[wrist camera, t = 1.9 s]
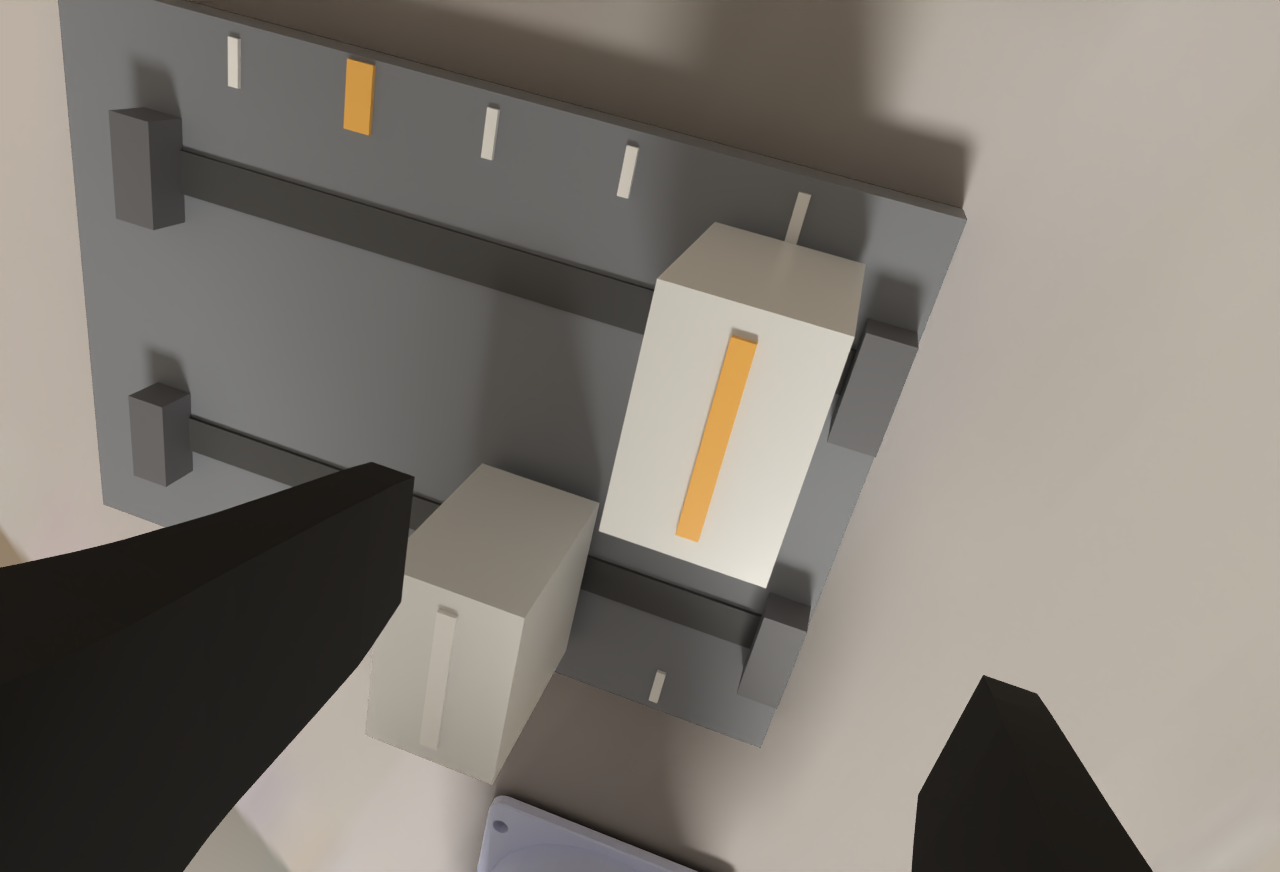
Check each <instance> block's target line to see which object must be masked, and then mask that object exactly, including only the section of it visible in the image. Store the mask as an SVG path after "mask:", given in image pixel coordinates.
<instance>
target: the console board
mask: <svg viewBox="0 0 1280 872" xmlns="http://www.w3.org/2000/svg"><path fill="white" fill-rule="evenodd" d="M58 5H59V16H60V27H61V38H62V49H63V61H64V72H65V83H66V94H67V105H68V116H69V127H70V138H71V149H72V161H73V172H74V183H75V194H76V205H77V216H78V227H79V238H80V249H81V261H82V272H83V283H84V294H85V305H86V316H87V327H88V338H89V349H90V361H91V372H92V383H93V394H94V405H95V416H96V427H97V438H98V450H99V461H100V472H101V483H102V494H103V504H104V505H107V506H110V507H112V508H115V509H118V510H120V511H123V512H126V513H128V514H131V515H134V516H136V517H139V518H142V519H145V520H147V521H150V522H153V523H155V524H158V525H161V526H163V527H169V526H172V525H176V524H179V523H183V522H186V521H189V520H193V519H196V518H200V517H203V516H207V515H210V514H213V513H216V512H220V511H223V510H226V509H229V508H232V507H235V506H238V505H241V504H244V503H247V502H250V501H253V500H256V499H259V498H262V497H265V496H268V495H271V494H274V493H277V492H280V491H282V490H285V489H288V488H291V487H294V486H297V485H300V484H303V483H306V482H309V481H312V480H315V479H317V478H320V477H323V476H326V475H329V474H332V473H335V472H338V471H342V470H345V469H348V468H351V467H354V466H358V465H362V464H365V463H369V462H374V463H377V464H380V465H383V466H386V467H388V468H391V469H394V470H397V471H400V472H403V473H406V474H409V475H411V476H414V477H415V480H414V489H413V498H412V507H411V517H410V526H409V535H408V538H409V537H410V536H411V535H412V534H413V533H414V532H415V531H416V530H417V529H418V528H419V527H420V526H421V525H422V524H423V523H424V522H425V521H426V519H427V518H428V517H429V516H430V515H431V514H432V513H433V512H434V511H435V510H436V509H437V508H438V507H439V506H440V505H441V504H442V503H443V502H444V501H445V500H446V499H447V498H448V497H449V496H450V495H451V494H452V493H453V492H454V491H455V490H456V489H457V488H458V487H459V486H460V485H461V484H462V483H463V482H464V481H465V480H466V479H467V478H468V477H469V476H470V475H471V474H472V473H473V472H474V471H475V470H476V469H477V468H478V467H479V466H480V465H481V464H482V463H483V464H486V465H489V466H492V467H495V468H498V469H501V470H503V471H506V472H509V473H512V474H515V475H518V476H521V477H524V478H527V479H530V480H533V481H536V482H539V483H542V484H545V485H548V486H551V487H554V488H557V489H560V490H563V491H566V492H569V493H572V494H574V495H577V496H580V497H583V498H586V499H589V500H592V501H595V502H598V503H599V508H598V512H597V517H596V521H595V525H594V530H593V534H592V539H591V543H590V547H589V552H588V556H587V561H586V565H585V569H584V574H583V578H582V583H581V587H580V591H579V596H578V600H577V605H576V609H575V613H574V618H573V622H572V626H571V631H570V635H569V640H568V644H567V648H566V652H565V653H564V655H563V657H562V659H561V661H560V663H559V664H558V666H557V668H556V670H555V672H557V673H560V674H562V675H565V676H568V677H570V678H573V679H576V680H578V681H581V682H584V683H587V684H589V685H592V686H595V687H597V688H600V689H603V690H605V691H608V692H611V693H613V694H616V695H619V696H622V697H624V698H627V699H630V700H632V701H635V702H638V703H640V704H643V705H646V706H649V707H651V708H654V709H657V710H659V711H662V712H665V713H667V714H670V715H673V716H675V717H678V718H681V719H684V720H686V721H689V722H692V723H694V724H697V725H700V726H702V727H705V728H708V729H711V730H713V731H716V732H719V733H721V734H724V735H727V736H729V737H732V738H735V739H737V740H740V741H743V742H746V743H748V744H751V745H754V746H756V747H759V748H761V745H762V742H763V740H764V737H765V735H766V732H767V730H768V727H769V725H770V722H771V719H772V717H773V714H774V712H775V709H777V707H778V705H779V702H780V700H781V697H782V695H783V692H784V689H785V687H786V684H787V682H788V679H789V677H790V674H791V672H792V669H793V667H794V664H795V661H796V659H797V656H798V654H799V651H800V649H801V646H802V644H803V641H804V639H805V636H806V633H807V629H808V625H809V622H810V620H811V617H812V615H813V612H814V610H815V607H816V605H817V602H818V599H819V597H820V594H821V592H822V589H823V587H824V584H825V582H826V579H827V576H828V574H829V571H830V569H831V566H832V564H833V561H834V559H835V556H836V553H837V551H838V548H839V546H840V543H841V541H842V538H843V536H844V533H845V530H846V528H847V525H848V523H849V520H850V518H851V515H852V513H853V510H854V508H855V505H856V502H857V500H858V497H859V495H860V492H861V490H862V487H863V485H864V482H865V479H866V477H867V474H868V472H869V469H870V467H871V464H872V462H873V459H874V457H876V455H877V453H878V450H879V447H880V445H881V442H882V440H883V437H884V435H885V432H886V430H887V427H888V425H889V422H890V419H891V417H892V414H893V412H894V409H895V407H896V404H897V402H898V399H899V396H900V394H901V391H902V389H903V386H904V384H905V381H906V379H907V376H908V374H909V371H910V368H911V366H912V363H913V361H914V358H915V356H916V353H917V351H918V344H919V342H920V339H921V336H922V334H923V331H924V329H925V326H926V324H927V321H928V319H929V316H930V313H931V311H932V308H933V306H934V303H935V301H936V298H937V296H938V293H939V290H940V288H941V285H942V283H943V280H944V278H945V275H946V273H947V270H948V267H949V265H950V262H951V260H952V257H953V255H954V252H955V250H956V247H957V244H958V242H959V239H960V237H961V234H962V232H963V229H964V227H965V224H966V221H967V218H966V216H965V213H964V210H963V209H961V208H958V207H954V206H950V205H946V204H943V203H939V202H935V201H932V200H928V199H924V198H920V197H917V196H913V195H909V194H905V193H902V192H898V191H894V190H891V189H887V188H883V187H879V186H876V185H872V184H868V183H864V182H861V181H857V180H853V179H850V178H846V177H842V176H838V175H835V174H831V173H827V172H823V171H820V170H816V169H812V168H809V167H805V166H801V165H797V164H794V163H790V162H786V161H782V160H779V159H775V158H771V157H768V156H764V155H760V154H756V153H753V152H749V151H745V150H741V149H738V148H734V147H730V146H727V145H723V144H719V143H715V142H712V141H708V140H704V139H700V138H697V137H693V136H689V135H686V134H682V133H678V132H674V131H671V130H667V129H663V128H659V127H656V126H652V125H648V124H645V123H641V122H637V121H633V120H630V119H626V118H622V117H618V116H615V115H611V114H607V113H604V112H600V111H596V110H592V109H589V108H585V107H581V106H577V105H574V104H570V103H566V102H563V101H559V100H555V99H551V98H548V97H544V96H540V95H536V94H533V93H529V92H525V91H522V90H518V89H514V88H510V87H507V86H503V85H499V84H495V83H492V82H488V81H484V80H481V79H477V78H473V77H469V76H466V75H462V74H458V73H454V72H451V71H447V70H443V69H440V68H436V67H432V66H428V65H425V64H421V63H417V62H413V61H410V60H406V59H402V58H399V57H395V56H391V55H387V54H384V53H380V52H376V51H372V50H369V49H365V48H361V47H358V46H354V45H350V44H346V43H343V42H339V41H335V40H331V39H328V38H324V37H320V36H317V35H313V34H309V33H305V32H302V31H298V30H294V29H290V28H287V27H283V26H279V25H276V24H272V23H268V22H264V21H261V20H257V19H253V18H249V17H246V16H242V15H238V14H235V13H231V12H227V11H223V10H220V9H216V8H212V7H208V6H205V5H201V4H197V3H194V2H190V1H186V0H58ZM714 222H718V223H721V224H725V225H728V226H732V227H735V228H739V229H742V230H746V231H749V232H753V233H757V234H760V235H764V236H767V237H771V238H774V239H778V240H781V241H785V242H788V243H792V244H796V245H799V246H803V247H806V248H810V249H813V250H817V251H820V252H824V253H827V254H831V255H835V256H838V257H842V258H845V259H849V260H852V261H856V262H859V263H863V264H866V266H865V273H864V279H863V286H862V292H861V299H860V305H859V312H858V319H857V325H856V332H855V338H854V340H853V343H852V346H851V349H850V352H849V355H848V357H847V360H846V363H845V366H844V369H843V372H842V374H841V377H840V380H839V383H838V386H837V389H836V391H835V394H834V397H833V400H832V403H831V406H830V408H829V411H828V414H827V417H826V420H825V423H824V425H823V428H822V431H821V434H820V437H819V440H818V442H817V445H816V448H815V451H814V454H813V456H812V459H811V462H810V465H809V468H808V471H807V473H806V476H805V479H804V482H803V485H802V488H801V490H800V493H799V496H798V499H797V502H796V505H795V507H794V510H793V513H792V516H791V519H790V522H789V524H788V527H787V530H786V533H785V536H784V539H783V541H782V544H781V547H780V550H779V553H778V556H777V558H776V561H775V564H774V567H773V570H772V573H771V575H770V578H769V581H768V584H767V587H766V588H763V587H761V586H758V585H755V584H752V583H749V582H746V581H743V580H740V579H737V578H734V577H731V576H728V575H726V574H723V573H720V572H717V571H714V570H711V569H708V568H705V567H702V566H699V565H696V564H693V563H691V562H688V561H685V560H682V559H679V558H676V557H673V556H670V555H667V554H664V553H661V552H659V551H656V550H653V549H650V548H647V547H644V546H641V545H638V544H635V543H632V542H629V541H626V540H624V539H621V538H618V537H615V536H612V535H609V534H606V533H603V532H600V531H599V528H600V523H601V519H602V515H603V510H604V506H605V502H606V497H607V493H608V489H609V484H610V480H611V476H612V471H613V467H614V463H615V458H616V454H617V450H618V445H619V441H620V437H621V432H622V428H623V424H624V419H625V415H626V411H627V406H628V402H629V398H630V393H631V389H632V385H633V380H634V376H635V372H636V367H637V363H638V359H639V354H640V350H641V346H642V341H643V337H644V333H645V328H646V324H647V320H648V315H649V311H650V307H651V302H652V298H653V294H654V290H655V285H656V281H657V278H658V277H659V276H660V275H661V274H662V273H663V272H664V271H665V270H666V269H667V268H668V267H669V266H670V265H671V264H672V263H673V262H675V261H676V260H677V259H678V258H679V257H680V256H681V255H682V254H683V253H684V252H685V251H686V250H687V249H688V248H689V247H690V246H691V245H692V244H693V243H694V242H695V241H696V240H697V239H698V238H699V237H700V236H701V235H702V234H703V233H704V232H705V231H706V230H707V229H708V228H709V227H710V226H711V225H712V224H713V223H714Z"/></svg>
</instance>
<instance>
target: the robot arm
mask: <svg viewBox="0 0 1280 872" xmlns="http://www.w3.org/2000/svg"><path fill="white" fill-rule="evenodd" d="M414 480H415V477H414V476H411V475H409V474H406V473H403V472H400V471H397V470H394V469H391V468H388V467H386V466H383V465H380V464H377V463H374V462H369V463H365V464H362V465H358V466H354V467H351V468H348V469H345V470H342V471H338V472H335V473H332V474H329V475H326V476H323V477H320V478H317V479H315V480H312V481H309V482H306V483H303V484H300V485H297V486H294V487H291V488H288V489H285V490H282V491H280V492H277V493H274V494H271V495H268V496H265V497H262V498H259V499H256V500H253V501H250V502H247V503H244V504H241V505H238V506H235V507H232V508H229V509H226V510H223V511H220V512H216V513H213V514H210V515H207V516H203V517H200V518H196V519H193V520H189V521H186V522H183V523H179V524H176V525H172V526H169V527H166V528H162V529H159V530H155V531H152V532H149V533H145V534H142V535H138V536H135V537H131V538H128V539H125V540H121V541H117V542H113V543H109V544H105V545H101V546H97V547H93V548H89V549H85V550H81V551H76V552H72V553H68V554H63V555H58V556H54V557H49V558H44V559H40V560H35V561H30V562H26V563H21V564H17V565H12V566H6V567H1V568H0V872H183V871H184V870H185V868H186V867H187V865H188V864H189V863H190V861H191V860H192V859H193V857H194V856H195V855H196V853H197V852H198V850H199V849H200V848H201V846H202V845H203V844H204V842H205V841H206V840H207V838H208V837H209V836H210V834H211V833H212V832H213V831H214V830H215V828H216V827H217V826H218V825H219V824H220V822H221V821H222V820H223V819H224V818H225V816H226V815H227V814H228V812H229V811H230V810H231V809H232V808H233V807H234V805H235V804H236V803H237V802H238V801H239V800H240V799H241V797H242V796H243V795H244V794H245V793H246V792H247V791H248V790H249V788H250V787H251V786H252V785H253V784H254V783H255V782H256V781H257V779H258V778H259V777H260V776H261V775H262V774H263V773H264V772H265V771H266V769H267V768H268V767H269V766H270V765H271V764H272V763H273V762H274V760H275V759H276V758H277V757H278V756H279V755H280V754H281V753H282V752H283V750H284V749H285V748H286V747H287V746H288V745H289V744H290V743H291V741H292V740H293V739H294V738H295V737H296V736H297V735H298V734H299V733H300V731H301V730H302V729H303V728H304V727H305V726H306V725H307V724H308V722H309V721H310V720H311V719H312V718H313V717H314V716H315V715H316V713H317V712H318V711H319V710H320V709H321V708H322V707H323V706H324V704H325V703H326V702H327V701H328V700H329V699H330V698H331V696H332V695H333V694H334V693H335V692H336V691H337V690H338V688H339V687H340V686H341V685H342V684H343V683H344V682H345V681H346V679H347V678H348V677H349V676H350V675H351V674H352V672H353V671H354V670H355V669H356V668H357V667H358V665H359V664H360V663H361V661H362V660H363V658H364V657H365V655H366V654H367V653H368V651H369V650H370V648H371V647H372V645H373V644H374V643H375V641H376V640H377V638H378V637H379V635H380V634H381V632H382V631H383V629H384V628H385V626H386V625H387V623H388V622H389V620H390V619H391V617H392V615H393V614H394V612H395V611H396V609H397V608H398V606H399V605H400V603H401V600H402V590H403V581H404V572H405V563H406V553H407V544H408V535H409V526H410V517H411V507H412V498H413V489H414ZM476 872H698V871H695V870H693V869H690V868H688V867H685V866H683V865H680V864H678V863H675V862H673V861H670V860H668V859H665V858H662V857H660V856H657V855H655V854H652V853H650V852H647V851H645V850H642V849H640V848H637V847H635V846H632V845H630V844H627V843H625V842H622V841H620V840H617V839H615V838H612V837H610V836H607V835H605V834H602V833H599V832H597V831H594V830H592V829H589V828H587V827H584V826H582V825H579V824H577V823H574V822H572V821H569V820H567V819H564V818H562V817H559V816H557V815H554V814H552V813H549V812H547V811H544V810H542V809H539V808H536V807H534V806H531V805H529V804H526V803H524V802H521V801H519V800H516V799H514V798H511V797H508V796H497V797H496V798H494V800H493V802H492V804H491V806H490V807H489V810H488V815H487V820H486V825H485V830H484V835H483V841H482V846H481V851H480V856H479V861H478V866H477V871H476ZM912 872H1153V871H1152V869H1151V868H1150V867H1149V865H1148V864H1147V862H1146V861H1145V859H1144V858H1143V856H1142V855H1141V853H1140V852H1139V850H1138V849H1137V847H1136V846H1135V844H1134V843H1133V841H1132V840H1131V838H1130V837H1129V835H1128V834H1127V832H1126V831H1125V829H1124V828H1123V826H1122V825H1121V823H1120V822H1119V820H1118V819H1117V817H1116V815H1115V814H1114V812H1113V811H1112V809H1111V808H1110V806H1109V805H1108V803H1107V802H1106V800H1105V798H1104V797H1103V795H1102V794H1101V792H1100V791H1099V789H1098V787H1097V786H1096V784H1095V783H1094V781H1093V780H1092V778H1091V776H1090V775H1089V773H1088V772H1087V770H1086V769H1085V767H1084V765H1083V764H1082V762H1081V761H1080V759H1079V757H1078V756H1077V754H1076V753H1075V751H1074V750H1073V748H1072V746H1071V745H1070V743H1069V742H1068V740H1067V738H1066V737H1065V735H1064V734H1063V732H1062V731H1061V729H1060V727H1059V726H1058V724H1057V723H1056V721H1055V720H1054V718H1053V717H1052V715H1051V714H1050V712H1049V710H1048V709H1047V707H1046V706H1045V705H1044V703H1043V702H1042V700H1041V699H1040V697H1039V696H1038V694H1036V693H1033V692H1030V691H1028V690H1025V689H1022V688H1019V687H1016V686H1013V685H1010V684H1008V683H1005V682H1002V681H999V680H996V679H993V678H990V677H987V676H985V675H983V676H982V678H981V680H980V682H979V684H978V686H977V688H976V689H975V691H974V693H973V695H972V697H971V699H970V700H969V702H968V704H967V706H966V708H965V710H964V711H963V713H962V715H961V717H960V719H959V721H958V723H957V724H956V726H955V728H954V730H953V732H952V734H951V735H950V737H949V739H948V741H947V743H946V745H945V747H944V748H943V750H942V752H941V754H940V756H939V758H938V759H937V761H936V763H935V765H934V767H933V769H932V770H931V772H930V774H929V776H928V778H927V780H926V782H925V783H924V785H923V787H922V789H921V791H920V793H919V794H918V803H917V813H916V823H915V834H914V845H913V859H912Z"/></svg>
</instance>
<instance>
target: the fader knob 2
mask: <svg viewBox="0 0 1280 872" xmlns="http://www.w3.org/2000/svg"><path fill="white" fill-rule="evenodd" d="M865 266H866V264H863V263H859V262H856V261H852V260H849V259H845V258H842V257H838V256H835V255H831V254H827V253H824V252H820V251H817V250H813V249H810V248H806V247H803V246H799V245H796V244H792V243H788V242H785V241H781V240H778V239H774V238H771V237H767V236H764V235H760V234H757V233H753V232H749V231H746V230H742V229H739V228H735V227H732V226H728V225H725V224H721V223H718V222H714V223H713V224H712V225H711V226H710V227H709V228H708V229H707V230H706V231H705V232H704V233H703V234H702V235H701V236H700V237H699V238H698V239H697V240H696V241H695V242H694V243H693V244H692V245H691V246H690V247H689V248H688V249H687V250H686V251H685V252H684V253H683V254H682V255H681V256H680V257H679V258H678V259H677V260H676V261H675V262H673V263H672V264H671V265H670V266H669V267H668V268H667V269H666V270H665V271H664V272H663V273H662V274H661V275H660V276H659V277H658V278H657V281H656V285H655V290H654V294H653V298H652V302H651V307H650V311H649V315H648V320H647V324H646V328H645V333H644V337H643V341H642V346H641V350H640V354H639V359H638V363H637V367H636V372H635V376H634V380H633V385H632V389H631V393H630V398H629V402H628V406H627V411H626V415H625V419H624V424H623V428H622V432H621V437H620V441H619V445H618V450H617V454H616V458H615V463H614V467H613V471H612V476H611V480H610V484H609V489H608V493H607V497H606V502H605V506H604V510H603V515H602V519H601V523H600V528H599V531H600V532H603V533H606V534H609V535H612V536H615V537H618V538H621V539H624V540H626V541H629V542H632V543H635V544H638V545H641V546H644V547H647V548H650V549H653V550H656V551H659V552H661V553H664V554H667V555H670V556H673V557H676V558H679V559H682V560H685V561H688V562H691V563H693V564H696V565H699V566H702V567H705V568H708V569H711V570H714V571H717V572H720V573H723V574H726V575H728V576H731V577H734V578H737V579H740V580H743V581H746V582H749V583H752V584H755V585H758V586H761V587H763V588H766V587H767V584H768V581H769V578H770V575H771V573H772V570H773V567H774V564H775V561H776V558H777V556H778V553H779V550H780V547H781V544H782V541H783V539H784V536H785V533H786V530H787V527H788V524H789V522H790V519H791V516H792V513H793V510H794V507H795V505H796V502H797V499H798V496H799V493H800V490H801V488H802V485H803V482H804V479H805V476H806V473H807V471H808V468H809V465H810V462H811V459H812V456H813V454H814V451H815V448H816V445H817V442H818V440H819V437H820V434H821V431H822V428H823V425H824V423H825V420H826V417H827V414H828V411H829V408H830V406H831V403H832V400H833V397H834V394H835V391H836V389H837V386H838V383H839V380H840V377H841V374H842V372H843V369H844V366H845V363H846V360H847V357H848V355H849V352H850V349H851V346H852V343H853V340H854V338H855V332H856V325H857V319H858V312H859V305H860V299H861V292H862V286H863V279H864V273H865Z"/></svg>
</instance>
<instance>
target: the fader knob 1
mask: <svg viewBox="0 0 1280 872" xmlns="http://www.w3.org/2000/svg"><path fill="white" fill-rule="evenodd" d="M598 508H599V503H598V502H595V501H592V500H589V499H586V498H583V497H580V496H577V495H574V494H572V493H569V492H566V491H563V490H560V489H557V488H554V487H551V486H548V485H545V484H542V483H539V482H536V481H533V480H530V479H527V478H524V477H521V476H518V475H515V474H512V473H509V472H506V471H503V470H501V469H498V468H495V467H492V466H489V465H486V464H483V463H482V464H481V465H480V466H479V467H478V468H477V469H476V470H475V471H474V472H473V473H472V474H471V475H470V476H469V477H468V478H467V479H466V480H465V481H464V482H463V483H462V484H461V485H460V486H459V487H458V488H457V489H456V490H455V491H454V492H453V493H452V494H451V495H450V496H449V497H448V498H447V499H446V500H445V501H444V502H443V503H442V504H441V505H440V506H439V507H438V508H437V509H436V510H435V511H434V512H433V513H432V514H431V515H430V516H429V517H428V518H427V519H426V521H425V522H424V523H423V524H422V525H421V526H420V527H419V528H418V529H417V530H416V531H415V532H414V533H413V534H412V535H411V536H410V537H409V538H408V544H407V553H406V563H405V572H404V581H403V590H402V600H401V603H400V605H399V606H398V608H397V609H396V611H395V612H394V614H393V615H392V617H391V619H390V620H389V622H388V623H387V625H386V626H385V628H384V629H383V631H382V632H381V634H380V635H379V637H378V638H377V640H376V641H375V643H374V644H373V654H372V665H371V676H370V687H369V698H368V709H367V720H366V731H365V735H367V736H369V737H372V738H374V739H377V740H379V741H382V742H384V743H387V744H389V745H392V746H394V747H397V748H399V749H402V750H405V751H407V752H410V753H412V754H415V755H417V756H420V757H422V758H425V759H427V760H430V761H432V762H435V763H437V764H440V765H442V766H445V767H447V768H450V769H453V770H455V771H458V772H460V773H463V774H465V775H468V776H470V777H473V778H475V779H478V780H480V781H483V782H485V783H488V784H490V785H493V783H494V781H495V779H496V778H497V776H498V774H499V772H500V770H501V768H502V767H503V765H504V763H505V761H506V759H507V757H508V756H509V754H510V752H511V750H512V748H513V746H514V745H515V743H516V741H517V739H518V737H519V736H520V734H521V732H522V730H523V728H524V726H525V725H526V723H527V721H528V719H529V717H530V715H531V714H532V712H533V710H534V708H535V706H536V704H537V703H538V701H539V699H540V697H541V695H542V694H543V692H544V690H545V688H546V686H547V684H548V683H549V681H550V679H551V677H552V675H553V673H554V672H555V670H556V668H557V666H558V664H559V663H560V661H561V659H562V657H563V655H564V653H565V652H566V648H567V644H568V640H569V635H570V631H571V626H572V622H573V618H574V613H575V609H576V605H577V600H578V596H579V591H580V587H581V583H582V578H583V574H584V569H585V565H586V561H587V556H588V552H589V547H590V543H591V539H592V534H593V530H594V525H595V521H596V517H597V512H598Z"/></svg>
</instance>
